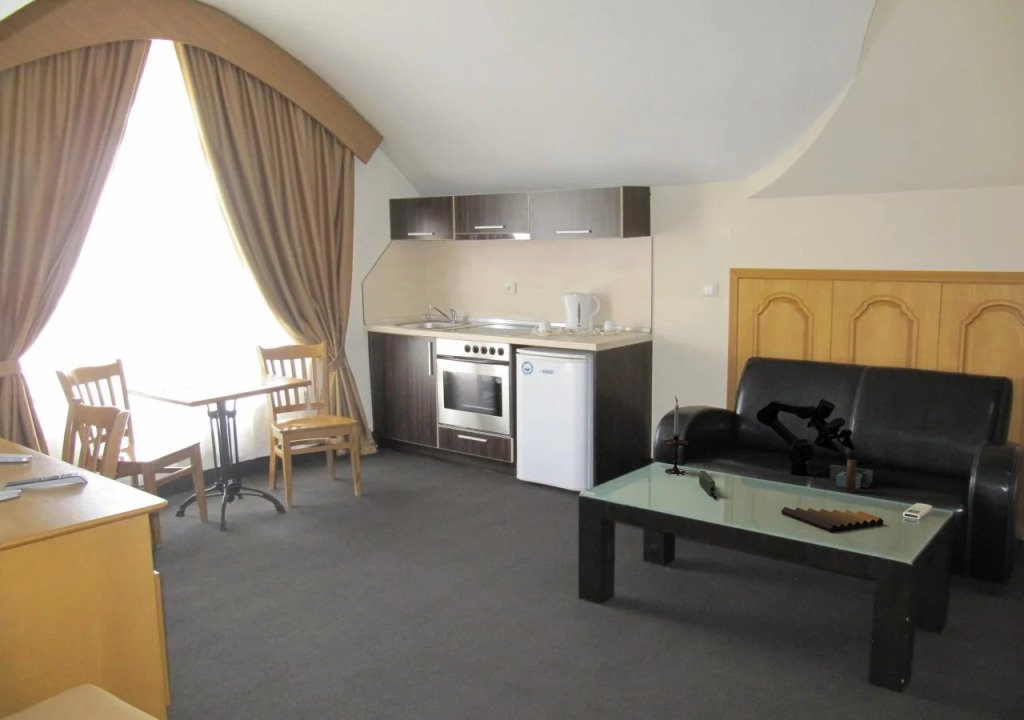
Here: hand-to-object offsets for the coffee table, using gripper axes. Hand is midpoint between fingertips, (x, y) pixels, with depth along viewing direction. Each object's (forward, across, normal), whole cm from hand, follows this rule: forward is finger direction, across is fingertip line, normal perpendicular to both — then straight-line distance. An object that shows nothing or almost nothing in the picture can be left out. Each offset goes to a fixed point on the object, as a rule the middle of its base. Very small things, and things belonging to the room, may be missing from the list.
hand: (847, 450), depth 366 cm
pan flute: (+35, -46, -3) cm, 58 cm away
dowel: (+14, -6, +9) cm, 18 cm away
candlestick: (-38, -48, +41) cm, 73 cm away
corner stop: (+6, +5, +14) cm, 16 cm away
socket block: (+8, +4, +14) cm, 16 cm away
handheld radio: (-9, -58, +24) cm, 64 cm away
